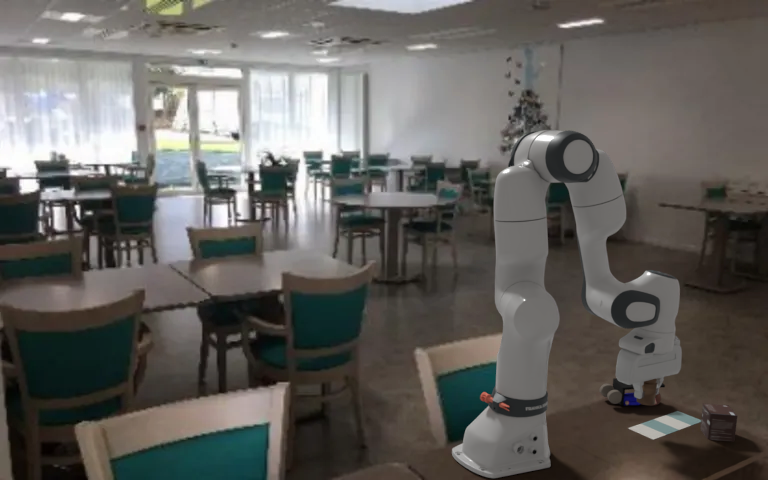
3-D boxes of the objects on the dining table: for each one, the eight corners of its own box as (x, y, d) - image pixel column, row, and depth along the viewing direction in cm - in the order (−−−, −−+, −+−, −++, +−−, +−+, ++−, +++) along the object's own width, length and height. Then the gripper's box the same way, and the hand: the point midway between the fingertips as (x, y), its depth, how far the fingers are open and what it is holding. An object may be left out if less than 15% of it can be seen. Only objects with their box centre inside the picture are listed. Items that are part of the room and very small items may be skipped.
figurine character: (610, 417, 172) (666, 409, 173) (609, 389, 171) (665, 382, 172) (599, 406, 179) (653, 399, 180) (598, 379, 177) (652, 372, 179)
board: (652, 442, 155) (653, 439, 154) (627, 431, 160) (627, 428, 160) (702, 423, 165) (703, 420, 165) (677, 413, 171) (677, 410, 171)
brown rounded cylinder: (647, 406, 155) (651, 375, 153) (632, 400, 158) (636, 369, 157) (658, 403, 157) (662, 373, 156) (643, 397, 160) (647, 367, 159)
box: (699, 431, 161) (702, 402, 160) (725, 433, 160) (728, 404, 159) (707, 442, 155) (710, 413, 154) (734, 445, 154) (738, 415, 153)
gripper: (668, 331, 163) (661, 384, 165) (614, 340, 152) (607, 397, 154) (692, 338, 158) (684, 393, 160) (637, 348, 147) (630, 408, 149)
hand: (646, 395), depth 157 cm, fingers closed on brown rounded cylinder, 4 cm apart
